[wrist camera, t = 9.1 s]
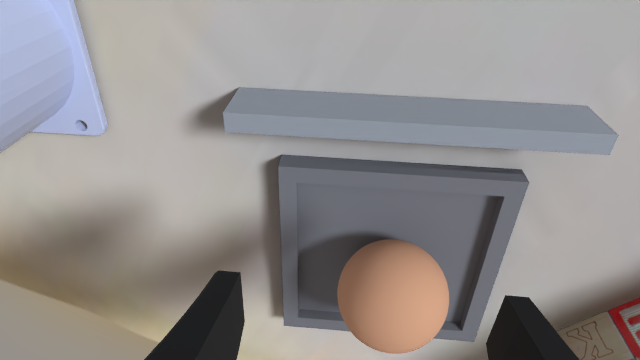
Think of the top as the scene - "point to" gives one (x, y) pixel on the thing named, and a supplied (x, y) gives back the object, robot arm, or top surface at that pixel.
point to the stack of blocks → (607, 334)
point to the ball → (393, 296)
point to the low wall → (419, 120)
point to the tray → (393, 229)
